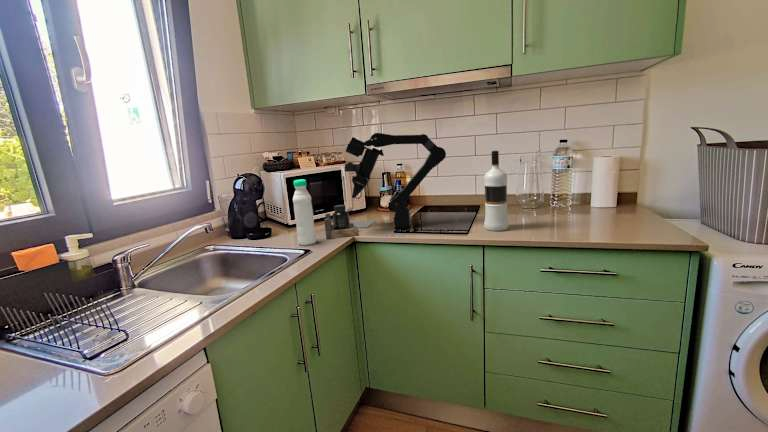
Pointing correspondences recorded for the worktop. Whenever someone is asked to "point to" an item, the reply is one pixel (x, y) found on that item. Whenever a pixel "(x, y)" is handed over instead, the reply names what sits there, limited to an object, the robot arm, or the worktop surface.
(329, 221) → the bracket holder
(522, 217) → the worktop surface
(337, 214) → the supplement bottle
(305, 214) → the milk bottle
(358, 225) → the slate mat
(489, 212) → the vodka
